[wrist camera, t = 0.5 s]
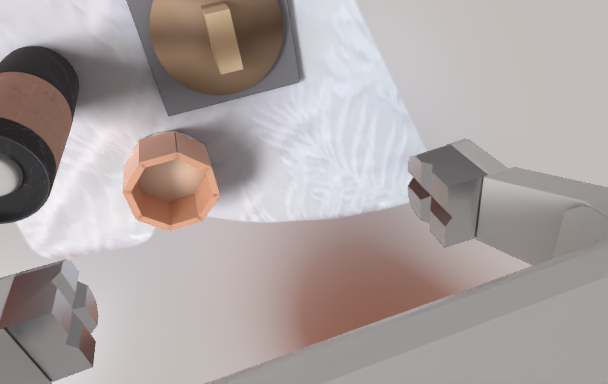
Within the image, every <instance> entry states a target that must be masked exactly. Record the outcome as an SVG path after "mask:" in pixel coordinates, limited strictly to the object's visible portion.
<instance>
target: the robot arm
mask: <svg viewBox="0 0 608 384" xmlns="http://www.w3.org/2000/svg"><path fill="white" fill-rule="evenodd" d="M408 172H409V173H410V174H411V175H412V176H413V179H412V180H411V182H410V183H409V185H408V196H409V200H410V203H411V207H412V209H413V210H414V212H415V214H416V215H417V216H418V218H419V219H420V220H422V221H425V222H428V223H430V232H431V233H432V234H433V235H434V236H435V237H436V239H437V240H438V241H439V242H440V243H441V244H442V246H443V247H444V248H445V247H448V246H452V245H455V244H458V243H461V242H465V241H468V240H471V239H474V238H476V240H478V241H481V242H483V243H485V244H487V245H489V246H492V247H494V248H496V249H498V250H500V251H502V252H505V253H507V254H509V255H511V256H513V257H516V258H518V259H520V260H522V261H524V262H526V263H529V264H531V265H533V266H531V267H528V268H525V269H523V270H520V271H517V272H514V273H512V274H509V275H506V276H503V277H501V278H498V279H495V280H492V281H490V282H487V283H484V284H481V285H478V286H476V287H473V288H470V289H467V290H465V291H462V292H459V293H456V294H453V295H451V296H448V297H445V298H442V299H439V300H437V301H434V302H431V303H428V304H426V305H423V306H420V307H417V308H415V309H411V310H409V311H406V312H403V313H400V314H397V315H395V316H392V317H389V318H386V319H383V320H381V321H378V322H375V323H372V324H369V325H366V326H364V327H361V328H358V329H355V330H353V331H350V332H347V333H344V334H341V335H339V336H336V337H333V338H330V339H327V340H325V341H322V342H319V343H317V344H314V345H311V346H308V347H305V348H302V349H300V350H297V351H294V352H292V353H289V354H286V355H283V356H280V357H277V358H275V359H272V360H269V361H266V362H264V363H261V364H258V365H255V366H252V367H250V368H247V369H244V370H242V371H239V372H236V373H233V374H230V375H228V376H225V377H222V378H219V379H216V380H213V381H211V382H208V383H205V384H608V187H603V186H599V185H594V184H590V183H585V182H581V181H576V180H571V179H567V178H562V177H558V176H553V175H549V174H544V173H540V172H534V171H531V170H525V169H521V168H517V167H513V168H510V169H509V168H507V167H506V166H505V165H503V164H502V163H501V162H499V161H498V160H496V159H495V158H494V157H492V156H491V155H490V154H488V153H487V152H486V151H484V150H483V149H482V148H480V147H479V146H478V145H476V144H475V143H474V142H472V141H471V140H468V139H463V140H460V141H457V142H454V143H451V144H448V145H446V146H444V147H440V148H437V149H433V150H431V151H427V152H424V153H421V154H417V155H414V156H411V157H410V158H409V161H408ZM78 274H79V271H78V270H77V269H76V267H75V266H74V264H73V263H72V261H69V260H62V261H59V262H55V263H52V264H48V265H44V266H41V267H37V268H33V269H30V270H26V271H23V272H20V273H16V274H13V275H9V276H6V277H3V278H0V384H52V383H51V382H53V381H56V380H59V379H62V378H64V377H67V376H70V375H73V374H75V373H78V372H81V371H83V370H86V369H89V368H91V367H93V361H94V352H95V343H96V342H95V340H94V338H93V337H92V335H91V333H92V332H93V330H94V329H95V328H96V326H97V323H98V311H97V304H96V301H95V298H94V296H93V293H92V292H91V290H90V288H89V287H88V286H87V285H85V284H83V283H80V282H78V281H77V280H78Z"/></svg>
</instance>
